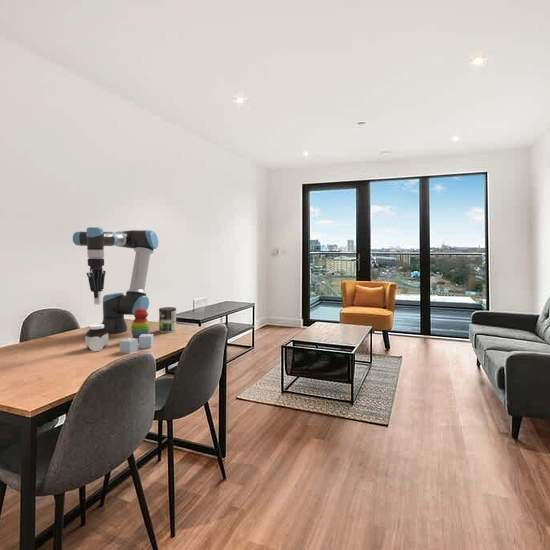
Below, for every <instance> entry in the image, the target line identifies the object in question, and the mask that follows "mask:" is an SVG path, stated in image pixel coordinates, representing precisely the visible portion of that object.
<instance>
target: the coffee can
mask: <svg viewBox="0 0 550 550" xmlns="http://www.w3.org/2000/svg"><path fill="white" fill-rule="evenodd" d="M158 313H159V314H158V316H159V317H158V318H159V319H158V325H159V327H158V332H160V333H162V334H163V333H164V334H167V333H175V332H176V331H177V308H176V307H174V306H171V307H170V306H165V307H159V308H158Z"/></svg>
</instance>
